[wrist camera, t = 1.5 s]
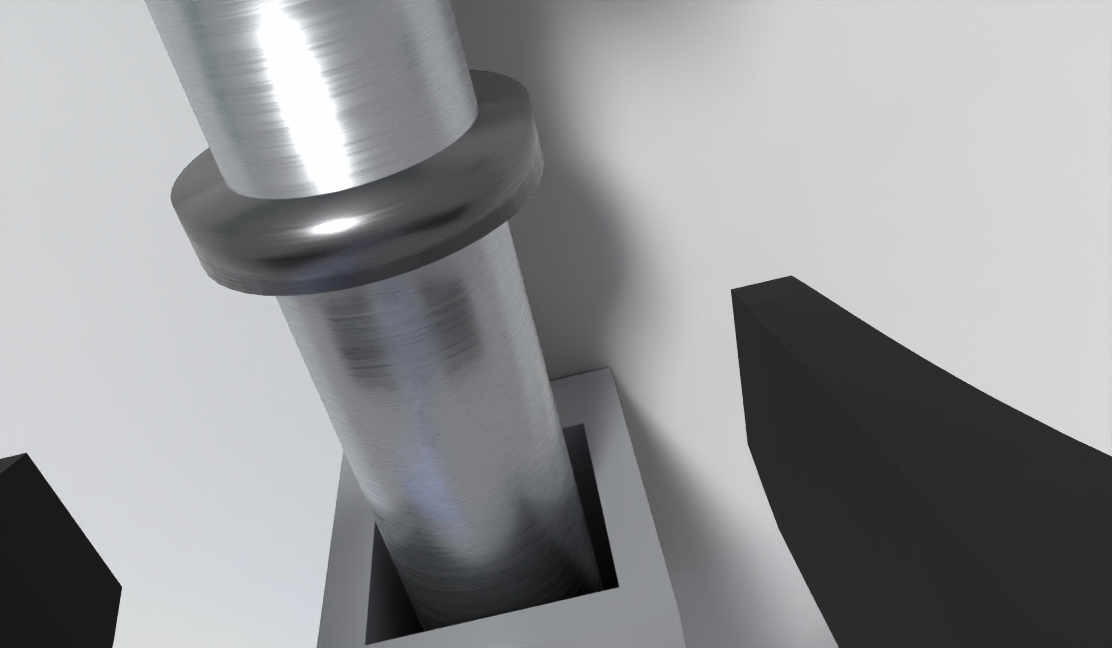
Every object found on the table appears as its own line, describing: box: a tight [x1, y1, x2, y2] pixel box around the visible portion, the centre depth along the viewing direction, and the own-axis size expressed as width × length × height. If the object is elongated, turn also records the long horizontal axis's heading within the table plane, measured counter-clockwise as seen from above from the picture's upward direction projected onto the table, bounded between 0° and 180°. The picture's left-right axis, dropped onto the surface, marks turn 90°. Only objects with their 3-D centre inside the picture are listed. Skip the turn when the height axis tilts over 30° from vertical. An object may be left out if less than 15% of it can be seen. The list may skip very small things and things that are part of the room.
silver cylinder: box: [145, 0, 604, 632], centre depth 12 cm, size 15×4×4 cm, turn 11°
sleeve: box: [317, 367, 686, 648], centre depth 16 cm, size 6×5×6 cm
